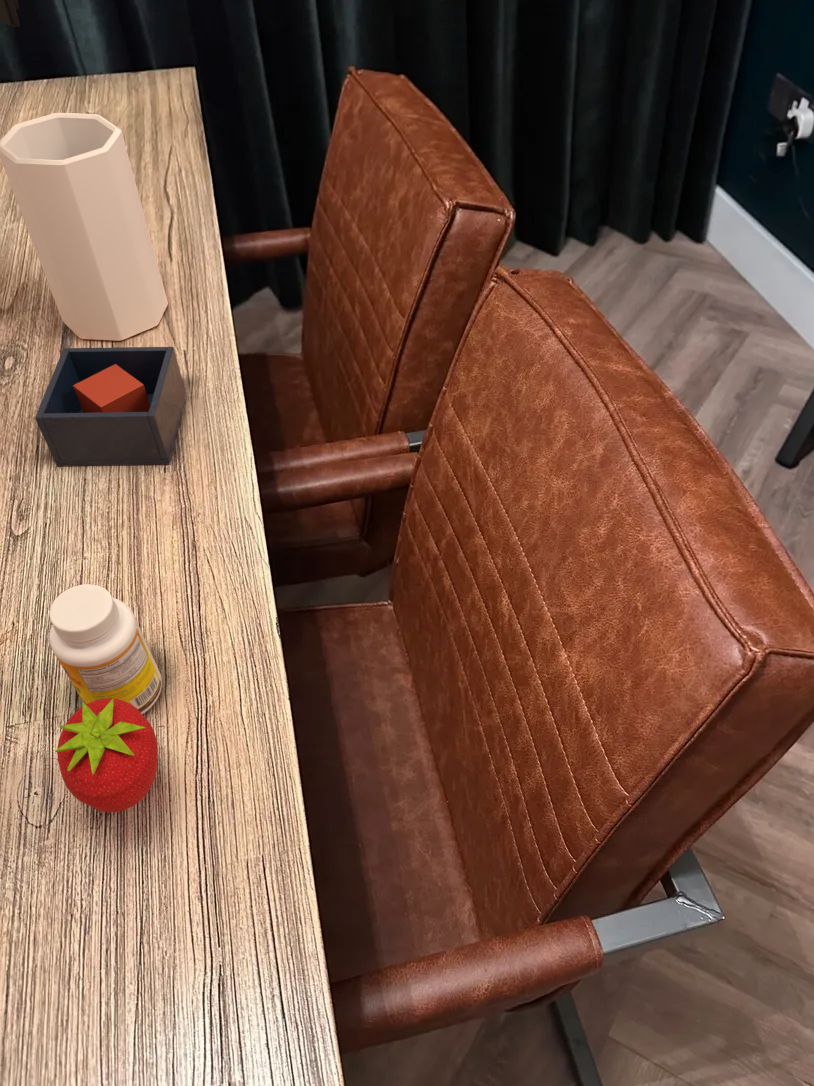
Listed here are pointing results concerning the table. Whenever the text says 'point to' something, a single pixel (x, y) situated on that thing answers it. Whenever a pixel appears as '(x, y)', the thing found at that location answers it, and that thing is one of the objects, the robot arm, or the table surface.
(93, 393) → the red block
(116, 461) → the navy tray box
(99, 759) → the strawberry
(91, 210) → the cup
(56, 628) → the supplement bottle
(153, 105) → the table surface
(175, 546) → the table surface
